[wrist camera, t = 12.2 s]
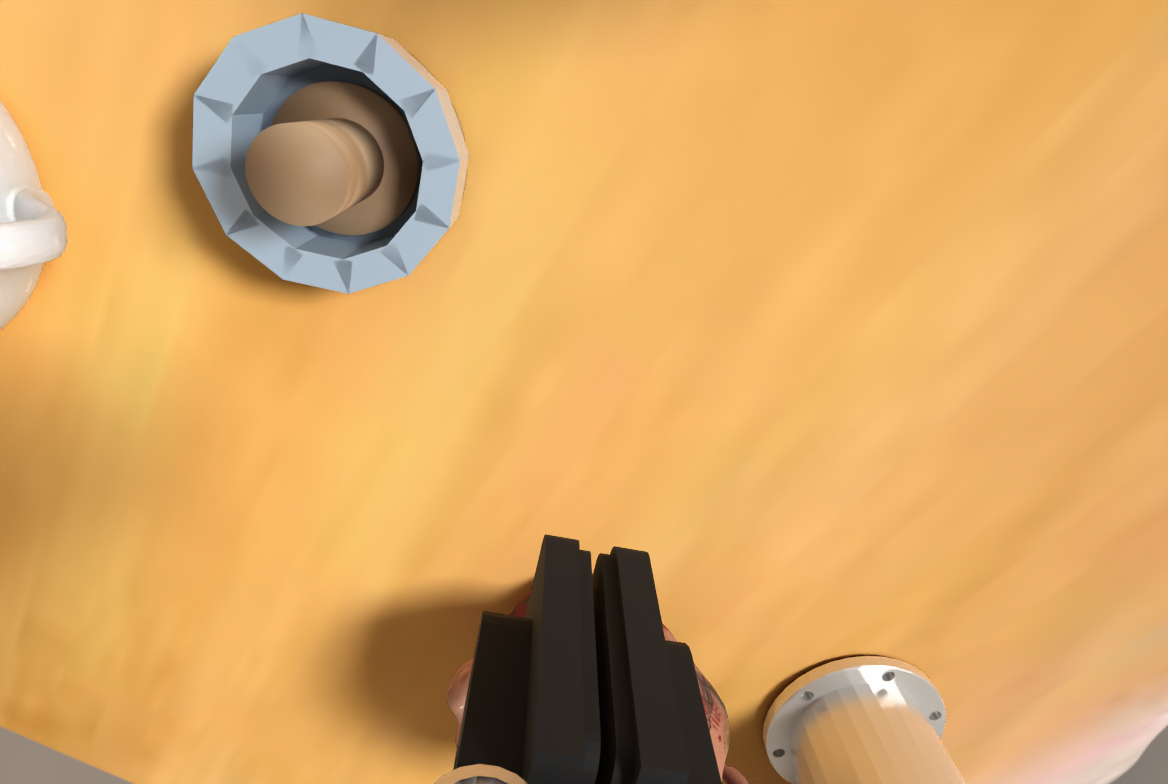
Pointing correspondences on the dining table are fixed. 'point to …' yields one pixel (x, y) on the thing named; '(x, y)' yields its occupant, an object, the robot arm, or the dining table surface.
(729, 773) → the sculpted mug
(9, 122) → the teapot
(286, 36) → the blue faceted bowl
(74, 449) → the dining table surface
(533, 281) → the dining table surface
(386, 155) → the lid
